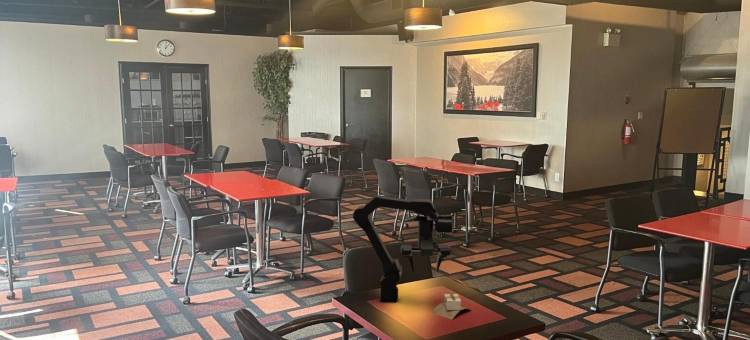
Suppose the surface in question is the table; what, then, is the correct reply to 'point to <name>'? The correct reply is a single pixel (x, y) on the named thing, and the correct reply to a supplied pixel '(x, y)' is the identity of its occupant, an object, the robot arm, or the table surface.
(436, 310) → the clay tablet
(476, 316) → the table surface
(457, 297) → the taped cardboard box
